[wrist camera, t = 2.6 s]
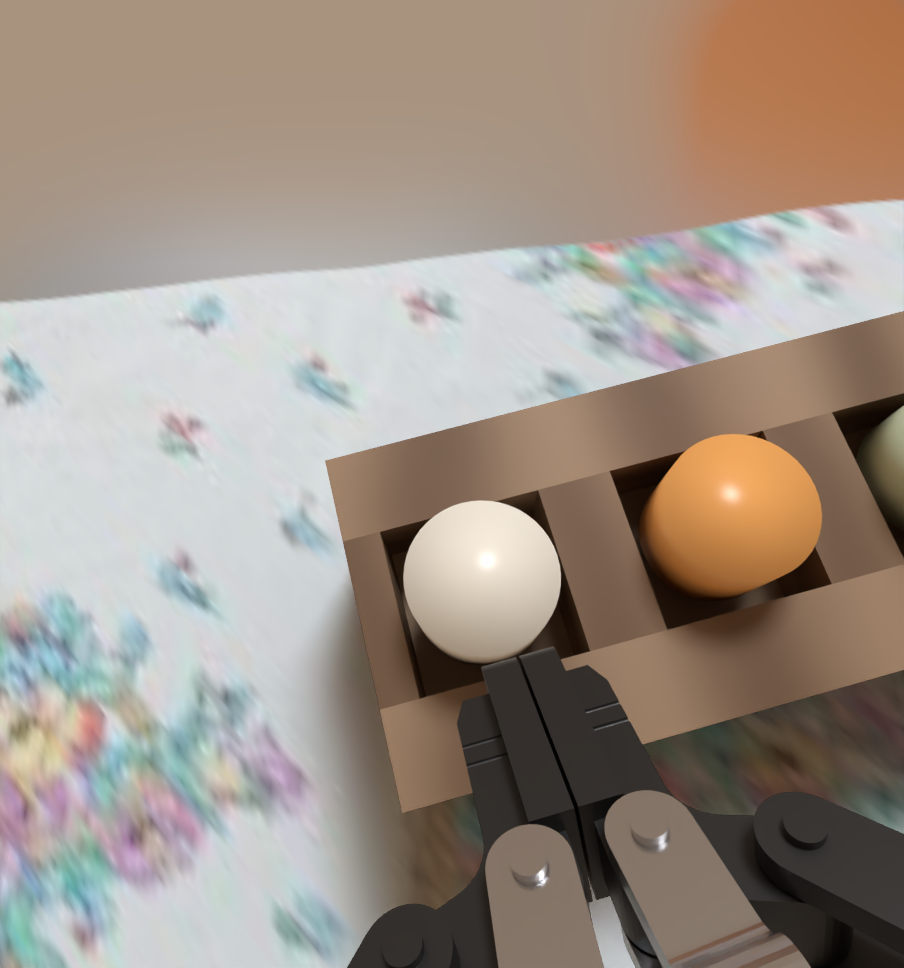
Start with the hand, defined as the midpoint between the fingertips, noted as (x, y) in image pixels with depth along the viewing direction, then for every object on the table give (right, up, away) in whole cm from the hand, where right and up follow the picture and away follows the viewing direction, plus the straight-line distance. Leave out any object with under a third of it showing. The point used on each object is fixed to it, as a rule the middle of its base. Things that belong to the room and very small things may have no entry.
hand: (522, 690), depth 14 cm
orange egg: (+6, +3, +7) cm, 10 cm away
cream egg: (-1, +1, +7) cm, 7 cm away
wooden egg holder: (+6, 0, +15) cm, 16 cm away
